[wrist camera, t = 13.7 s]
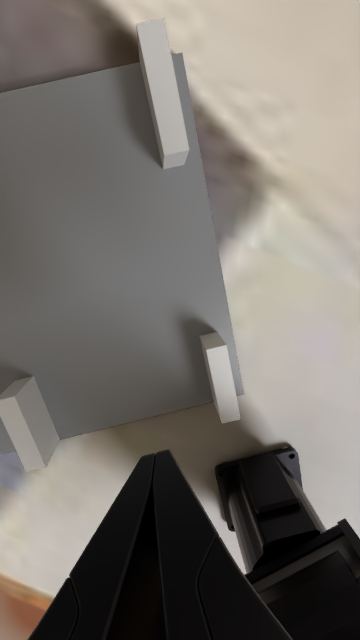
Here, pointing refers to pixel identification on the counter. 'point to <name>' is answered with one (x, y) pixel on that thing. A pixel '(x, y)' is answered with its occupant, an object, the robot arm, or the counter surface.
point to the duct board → (107, 256)
